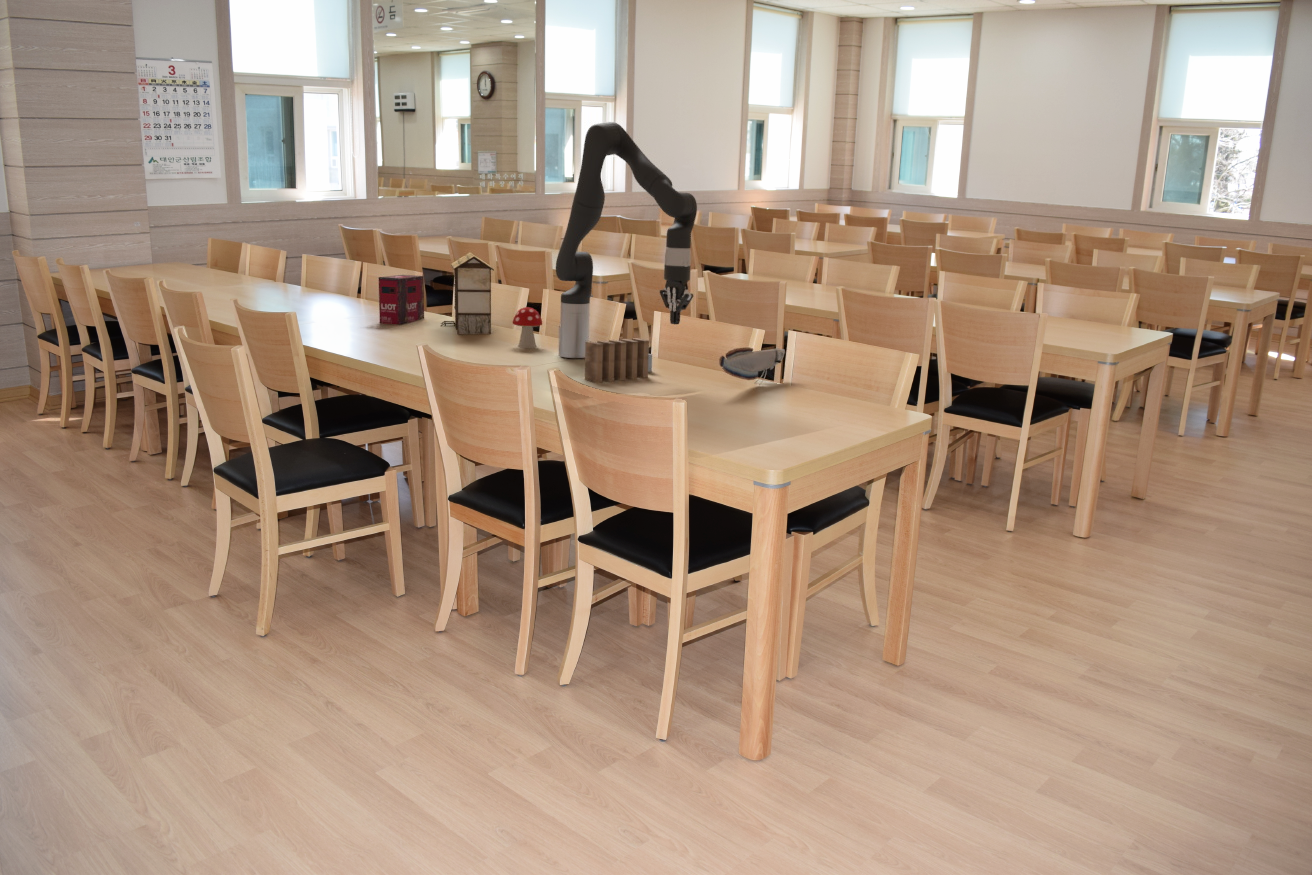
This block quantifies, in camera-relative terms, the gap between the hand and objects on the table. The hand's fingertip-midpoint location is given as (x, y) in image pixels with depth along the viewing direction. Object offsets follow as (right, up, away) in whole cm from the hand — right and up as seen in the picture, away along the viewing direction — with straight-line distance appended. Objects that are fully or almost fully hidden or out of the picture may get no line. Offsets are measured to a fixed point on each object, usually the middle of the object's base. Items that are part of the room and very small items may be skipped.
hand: (674, 324), depth 292 cm
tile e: (-24, -17, -3) cm, 29 cm away
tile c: (-17, -16, +2) cm, 23 cm away
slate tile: (-7, -11, +11) cm, 17 cm away
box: (-102, +8, +88) cm, 135 cm away
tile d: (-20, -16, -1) cm, 26 cm away
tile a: (-10, -15, +7) cm, 19 cm away
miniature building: (-75, +4, +76) cm, 107 cm away
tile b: (-14, -15, +4) cm, 21 cm away
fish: (+22, -19, -4) cm, 29 cm away
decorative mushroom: (-49, -4, +45) cm, 67 cm away
